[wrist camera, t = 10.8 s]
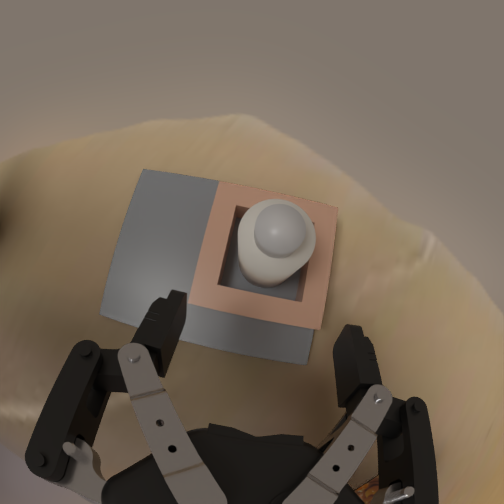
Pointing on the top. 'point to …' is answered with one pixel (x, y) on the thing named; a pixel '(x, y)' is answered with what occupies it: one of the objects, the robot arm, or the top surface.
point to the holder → (215, 268)
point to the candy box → (368, 490)
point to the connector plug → (274, 242)
